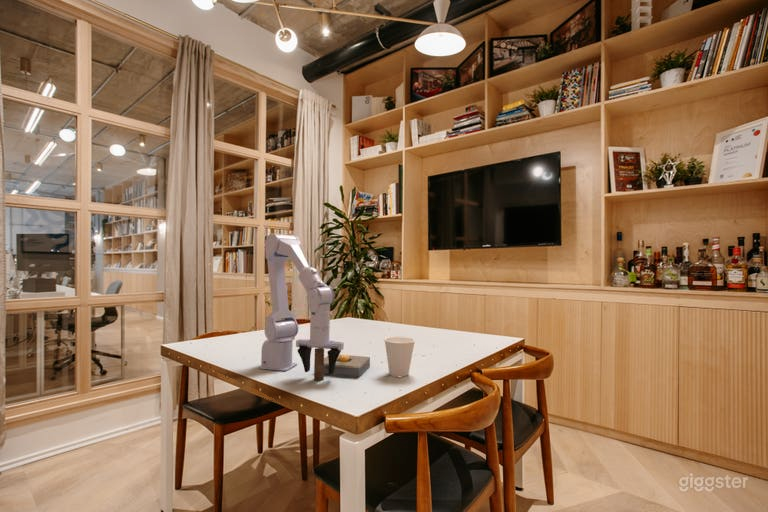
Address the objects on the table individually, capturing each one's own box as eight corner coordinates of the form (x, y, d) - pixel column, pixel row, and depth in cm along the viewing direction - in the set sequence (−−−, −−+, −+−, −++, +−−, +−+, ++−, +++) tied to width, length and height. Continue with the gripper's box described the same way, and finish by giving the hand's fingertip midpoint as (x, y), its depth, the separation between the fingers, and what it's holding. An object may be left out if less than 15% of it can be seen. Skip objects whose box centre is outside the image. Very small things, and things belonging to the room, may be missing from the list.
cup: (378, 371, 121) (379, 337, 121) (406, 368, 124) (407, 335, 124) (390, 380, 111) (390, 343, 112) (420, 377, 115) (420, 341, 115)
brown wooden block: (312, 380, 110) (313, 349, 111) (316, 377, 113) (317, 347, 113) (321, 381, 110) (321, 350, 110) (325, 378, 112) (325, 348, 113)
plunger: (337, 363, 120) (337, 356, 120) (341, 360, 123) (341, 354, 123) (347, 363, 119) (347, 357, 119) (350, 361, 122) (350, 355, 122)
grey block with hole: (316, 373, 117) (316, 362, 117) (330, 363, 129) (330, 353, 129) (359, 377, 114) (359, 366, 114) (369, 367, 125) (370, 357, 125)
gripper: (291, 327, 109) (290, 374, 109) (338, 330, 106) (337, 378, 106) (302, 323, 116) (301, 367, 116) (346, 326, 113) (345, 371, 113)
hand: (319, 372), depth 111 cm, fingers open, 7 cm apart
